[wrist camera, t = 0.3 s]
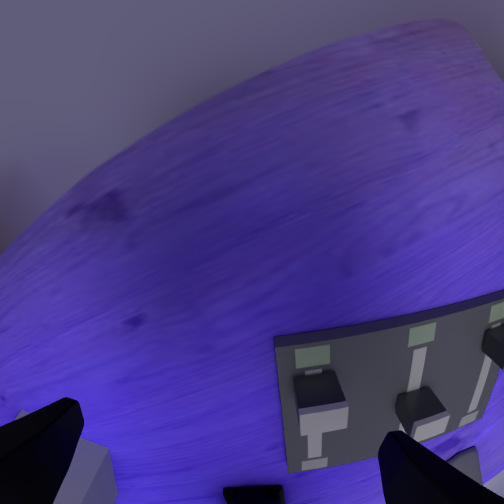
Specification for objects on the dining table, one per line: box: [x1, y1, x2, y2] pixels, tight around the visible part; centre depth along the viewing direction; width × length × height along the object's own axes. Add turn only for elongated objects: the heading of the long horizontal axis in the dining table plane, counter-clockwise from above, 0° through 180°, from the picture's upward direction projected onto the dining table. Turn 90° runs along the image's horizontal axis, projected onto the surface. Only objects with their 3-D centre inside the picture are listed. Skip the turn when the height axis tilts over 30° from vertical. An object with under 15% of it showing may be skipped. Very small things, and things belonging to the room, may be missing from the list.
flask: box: [447, 446, 483, 485], centre depth 22 cm, size 7×7×10 cm
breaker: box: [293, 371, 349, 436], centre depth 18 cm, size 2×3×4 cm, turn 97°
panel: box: [274, 290, 504, 473], centre depth 22 cm, size 15×22×2 cm
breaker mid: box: [395, 387, 450, 442], centre depth 19 cm, size 2×3×4 cm, turn 98°
